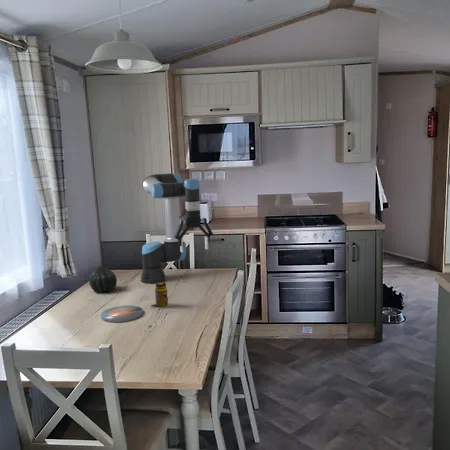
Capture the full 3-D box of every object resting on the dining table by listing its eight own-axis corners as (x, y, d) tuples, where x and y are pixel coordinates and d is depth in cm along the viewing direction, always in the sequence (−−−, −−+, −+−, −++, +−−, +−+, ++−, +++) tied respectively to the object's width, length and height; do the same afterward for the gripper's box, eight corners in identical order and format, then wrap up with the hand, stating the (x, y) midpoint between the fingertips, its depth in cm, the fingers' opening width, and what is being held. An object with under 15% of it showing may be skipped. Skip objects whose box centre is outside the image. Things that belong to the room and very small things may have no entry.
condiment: (170, 306, 231) (169, 283, 229) (155, 309, 227) (154, 286, 225) (164, 302, 237) (163, 280, 235) (149, 305, 233) (148, 283, 231)
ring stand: (98, 311, 226) (98, 309, 226) (138, 305, 234) (138, 302, 233) (104, 325, 208) (103, 322, 208) (147, 318, 215) (146, 315, 215)
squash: (111, 286, 250) (113, 262, 258) (84, 287, 250) (87, 263, 258) (117, 296, 262) (120, 273, 270) (92, 298, 262) (95, 274, 270)
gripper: (171, 212, 222) (173, 254, 225) (218, 208, 232) (219, 249, 235) (166, 210, 229) (169, 251, 232) (212, 207, 238) (214, 246, 242)
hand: (194, 250), depth 234 cm, fingers open, 13 cm apart
